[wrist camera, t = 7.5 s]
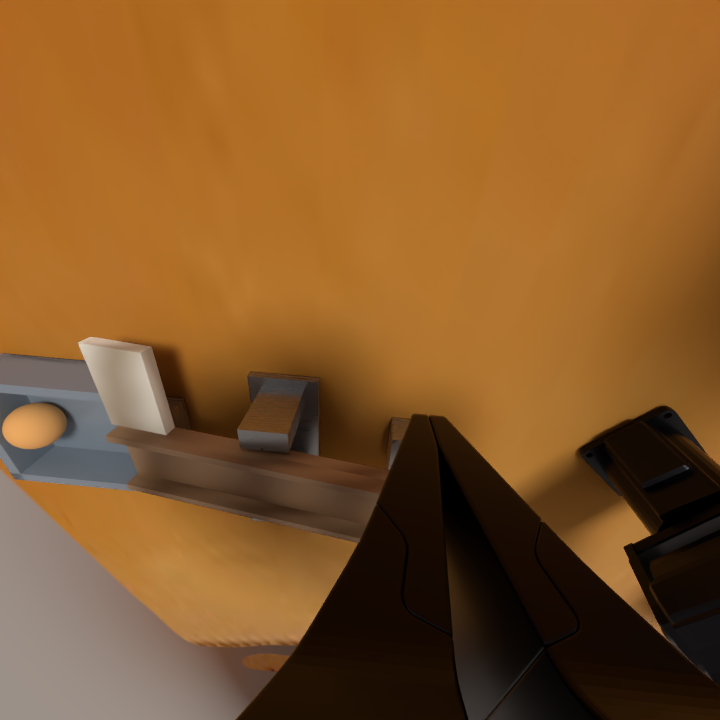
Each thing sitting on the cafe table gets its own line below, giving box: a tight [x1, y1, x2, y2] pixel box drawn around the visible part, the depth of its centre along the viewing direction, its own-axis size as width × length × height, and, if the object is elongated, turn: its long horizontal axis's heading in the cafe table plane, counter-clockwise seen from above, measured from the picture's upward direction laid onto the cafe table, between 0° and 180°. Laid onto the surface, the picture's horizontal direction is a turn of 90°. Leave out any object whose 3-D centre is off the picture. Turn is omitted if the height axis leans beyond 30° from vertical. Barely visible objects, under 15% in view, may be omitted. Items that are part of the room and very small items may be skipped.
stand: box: [166, 372, 410, 522], centre depth 23 cm, size 20×10×5 cm, turn 86°
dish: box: [0, 353, 137, 491], centre depth 24 cm, size 10×9×4 cm
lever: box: [78, 337, 389, 543], centre depth 19 cm, size 20×11×4 cm, turn 86°
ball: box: [2, 403, 67, 449], centre depth 24 cm, size 3×3×3 cm
